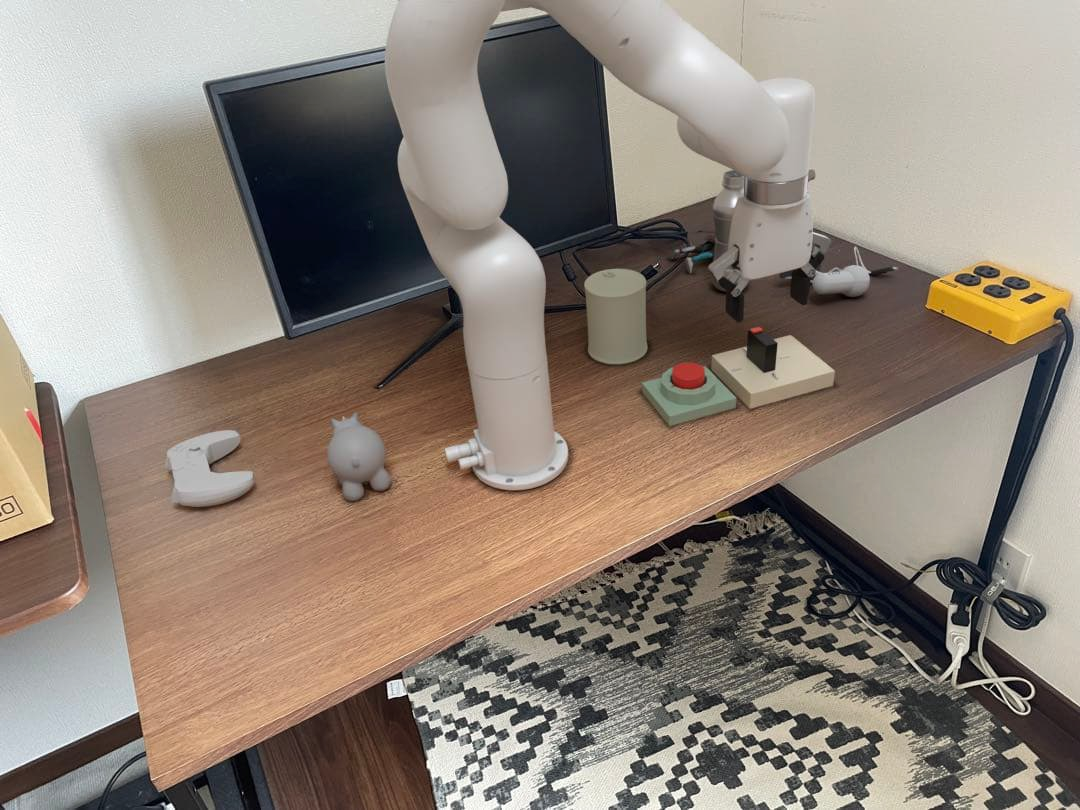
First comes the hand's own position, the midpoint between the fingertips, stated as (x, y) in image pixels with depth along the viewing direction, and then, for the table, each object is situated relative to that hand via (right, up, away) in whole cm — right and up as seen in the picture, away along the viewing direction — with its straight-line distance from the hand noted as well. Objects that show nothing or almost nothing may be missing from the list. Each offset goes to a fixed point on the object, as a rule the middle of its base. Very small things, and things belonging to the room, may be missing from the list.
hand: (766, 309), depth 109 cm
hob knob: (0, -7, +5) cm, 9 cm away
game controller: (-74, -23, -2) cm, 78 cm away
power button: (-10, -10, +2) cm, 14 cm away
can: (-19, -4, +16) cm, 25 cm away
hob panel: (+2, -9, +6) cm, 11 cm away
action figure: (+3, +14, +40) cm, 43 cm away
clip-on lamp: (+20, +7, +26) cm, 34 cm away
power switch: (-10, -12, +3) cm, 16 cm away
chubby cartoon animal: (-54, -22, -3) cm, 59 cm away
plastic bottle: (+2, +7, +30) cm, 30 cm away
